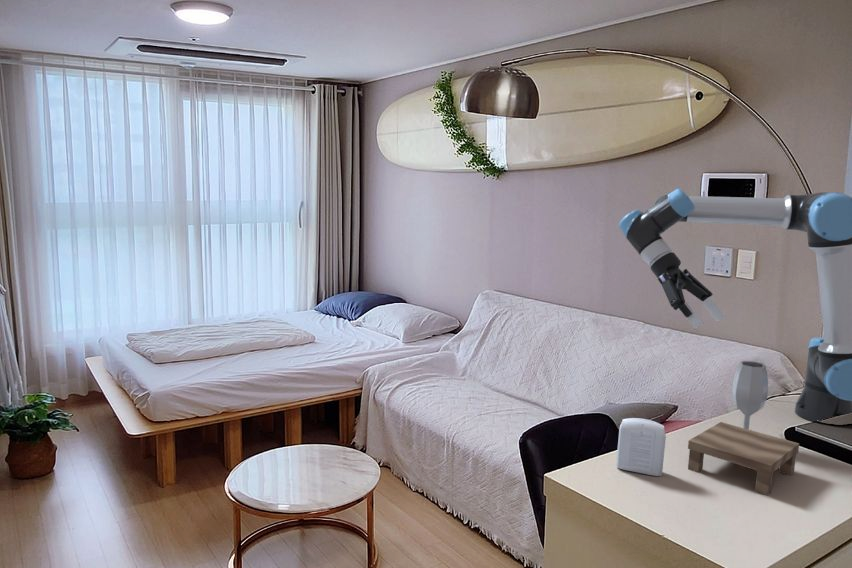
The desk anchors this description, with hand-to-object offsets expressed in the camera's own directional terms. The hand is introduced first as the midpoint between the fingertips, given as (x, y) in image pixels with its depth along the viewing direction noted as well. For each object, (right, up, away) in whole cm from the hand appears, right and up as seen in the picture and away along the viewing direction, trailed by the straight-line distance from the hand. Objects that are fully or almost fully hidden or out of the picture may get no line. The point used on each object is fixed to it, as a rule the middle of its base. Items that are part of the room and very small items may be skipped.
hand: (710, 322), depth 176 cm
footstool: (-1, -33, -20) cm, 39 cm away
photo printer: (-25, -33, -21) cm, 47 cm away
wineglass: (+7, -31, -3) cm, 32 cm away
